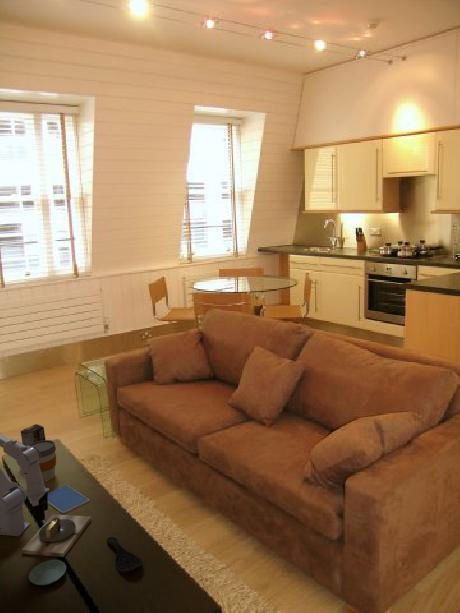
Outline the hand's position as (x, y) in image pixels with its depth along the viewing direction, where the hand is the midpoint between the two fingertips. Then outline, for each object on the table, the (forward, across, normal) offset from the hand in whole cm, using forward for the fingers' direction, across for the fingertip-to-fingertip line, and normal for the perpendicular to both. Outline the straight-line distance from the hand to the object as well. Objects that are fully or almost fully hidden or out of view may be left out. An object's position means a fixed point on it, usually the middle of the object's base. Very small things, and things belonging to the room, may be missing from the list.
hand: (43, 515), depth 199 cm
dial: (+8, +1, -3) cm, 9 cm away
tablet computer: (+8, +27, -3) cm, 29 cm away
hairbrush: (+15, -17, -26) cm, 34 cm away
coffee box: (+2, +69, +14) cm, 71 cm away
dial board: (+10, +1, -3) cm, 10 cm away
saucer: (+12, -21, -2) cm, 25 cm away
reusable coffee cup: (+4, +50, +8) cm, 51 cm away
